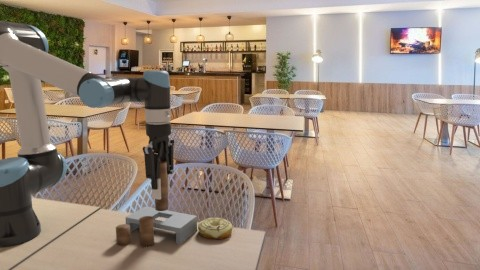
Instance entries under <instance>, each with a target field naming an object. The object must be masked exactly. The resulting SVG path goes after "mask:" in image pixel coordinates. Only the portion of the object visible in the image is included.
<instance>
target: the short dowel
mask: <svg viewBox="0 0 480 270" xmlns="http://www.w3.org/2000/svg"><path fill="white" fill-rule="evenodd" d="M115 237H116V238H115V239H116V241H115V242H116V245H117V246H119V247H124V246H128V245H130V244H131V242H132V241H131V233H130V225H128V224H126V223H122V224H118V225H116V226H115Z"/></svg>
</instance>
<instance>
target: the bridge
mask: <svg viewBox="0 0 480 270" xmlns="http://www.w3.org/2000/svg"><path fill="white" fill-rule="evenodd" d="M144 216H151V217H153V226H154V229H160V230H164V231H169V232H173V233H175V242H176V243H175V244H179V245H181V244H183V243H184V242H185V241H186V240H188V239H189V238H190V237H191V236H192V235H194V234H195V233H196V232H197V231H198V215H194V214H189V213H182V212H177V211H173V210H172V211H171V210H169V209H167V210H165V211H157V210H155V207H152V206H151V207H150V206H143V207H141V208H140V209H138V210H136V211H134V212H132V213H130V214H128V215H127V216H125V218H124V219H125V224H128V225H130V234H131V233H132V232H133V231H135V230H137V229H140V228H139V219H140V218H141V217H144ZM159 217H161V218H166V219H165V220H159V219H158V218H159Z"/></svg>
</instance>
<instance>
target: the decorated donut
mask: <svg viewBox="0 0 480 270" xmlns="http://www.w3.org/2000/svg"><path fill="white" fill-rule="evenodd" d="M233 228H234V226H233V225H232V223H231V222H230V221H229V220H227V219H225V218H223V217H208V218H205V219H203V220H201V221H200V222H198V223H197V231H198V232H199V233H200V235H201V236H202V237H203V238H206V239H211V240H212V239H215V240H216V239H217V240H221V239H226V238H229V236H231V234H232V232H233V231H232V230H233Z"/></svg>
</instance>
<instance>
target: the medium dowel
mask: <svg viewBox="0 0 480 270" xmlns="http://www.w3.org/2000/svg"><path fill="white" fill-rule="evenodd" d="M138 229H139V245H140V247H142V248H150V247H153V246H154V245H155V230H154V229H155V228H154V226H153V217H151V216H144V217H141V218H140V219H139V228H138Z"/></svg>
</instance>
